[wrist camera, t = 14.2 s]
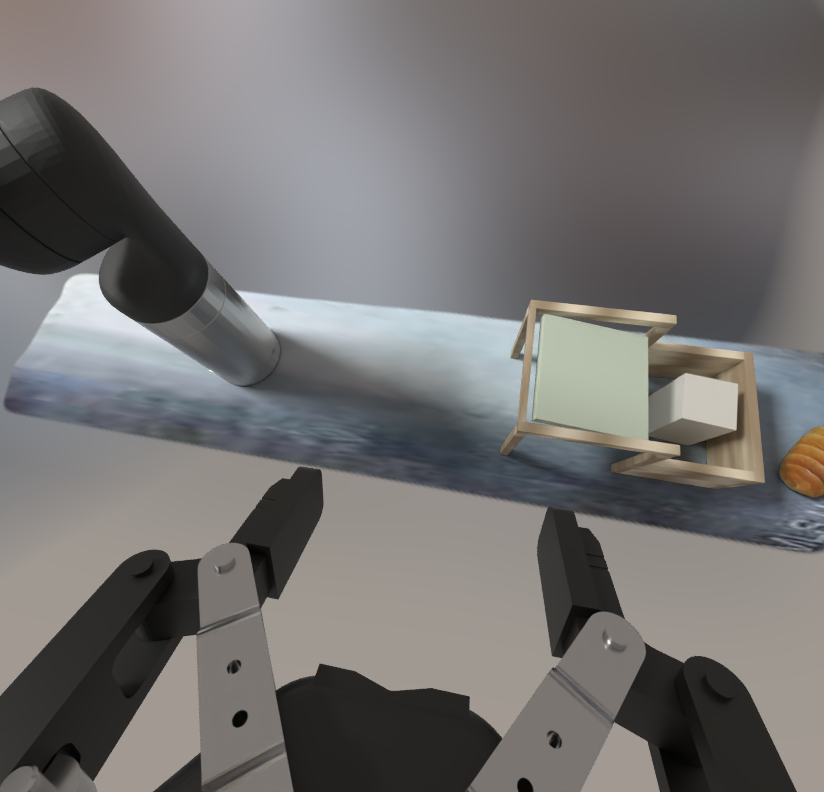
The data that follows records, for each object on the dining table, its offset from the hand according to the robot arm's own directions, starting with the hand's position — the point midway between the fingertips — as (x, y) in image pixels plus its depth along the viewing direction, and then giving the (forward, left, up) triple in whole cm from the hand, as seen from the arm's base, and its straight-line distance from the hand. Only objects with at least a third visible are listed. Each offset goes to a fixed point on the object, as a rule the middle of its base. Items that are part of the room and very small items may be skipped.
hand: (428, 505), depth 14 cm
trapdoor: (+7, +19, -23) cm, 31 cm away
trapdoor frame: (+12, +20, -33) cm, 41 cm away
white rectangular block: (+19, +23, -26) cm, 39 cm away
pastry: (+35, +26, -34) cm, 55 cm away
